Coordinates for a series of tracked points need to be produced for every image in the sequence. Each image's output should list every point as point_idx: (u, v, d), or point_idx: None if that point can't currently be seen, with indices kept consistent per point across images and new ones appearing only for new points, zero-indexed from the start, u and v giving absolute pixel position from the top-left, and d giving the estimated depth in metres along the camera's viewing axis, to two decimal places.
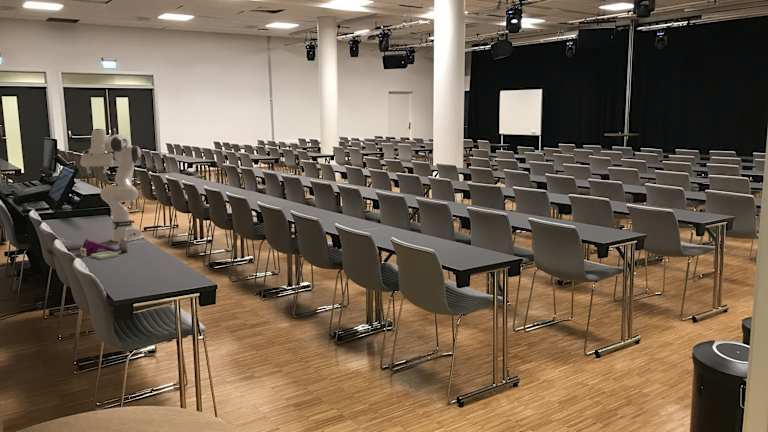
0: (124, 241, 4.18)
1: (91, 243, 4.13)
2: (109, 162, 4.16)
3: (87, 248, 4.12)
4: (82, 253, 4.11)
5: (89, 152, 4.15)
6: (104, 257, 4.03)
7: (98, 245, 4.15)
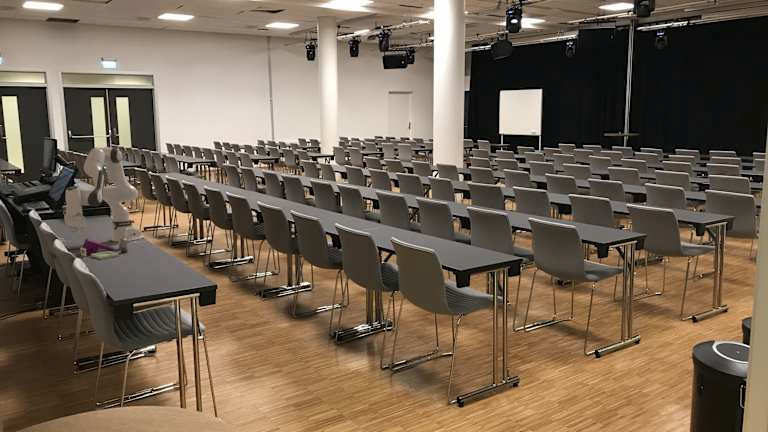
0: (124, 241, 4.18)
1: (91, 243, 4.13)
2: (79, 225, 3.98)
3: (87, 248, 4.12)
4: (82, 253, 4.11)
5: (66, 213, 4.03)
6: (104, 257, 4.03)
7: (98, 245, 4.16)
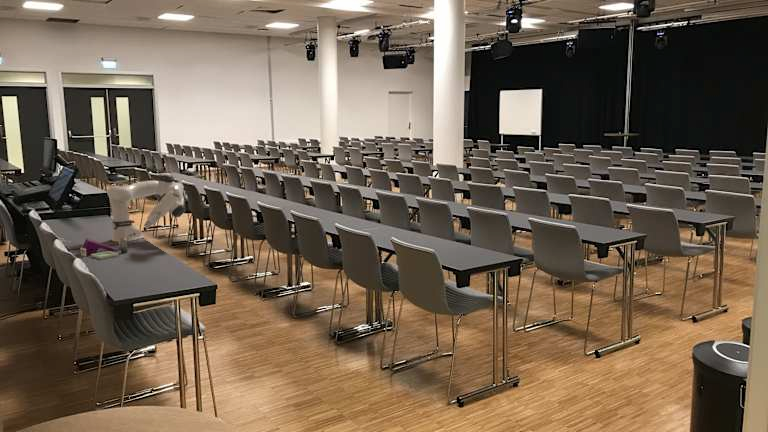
0: (124, 241, 4.18)
1: (91, 243, 4.13)
2: (151, 219, 4.16)
3: (87, 248, 4.13)
4: (82, 253, 4.11)
5: None
6: (104, 257, 4.03)
7: (98, 245, 4.16)
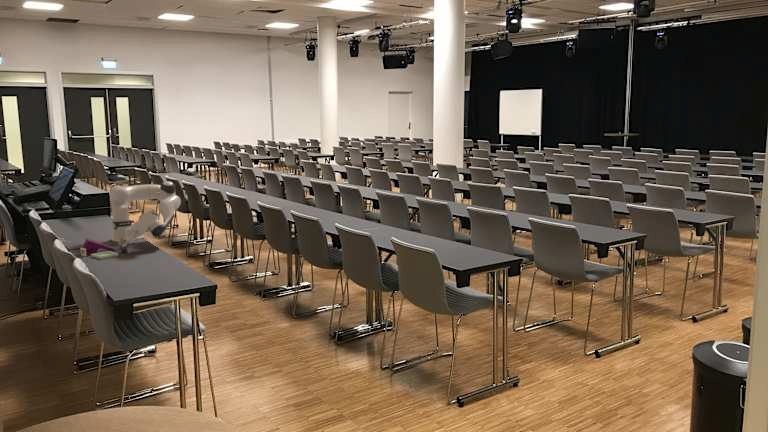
0: (124, 241, 4.18)
1: (91, 243, 4.14)
2: (128, 238, 4.12)
3: (87, 248, 4.13)
4: (82, 253, 4.11)
5: None
6: (104, 257, 4.03)
7: (98, 245, 4.16)
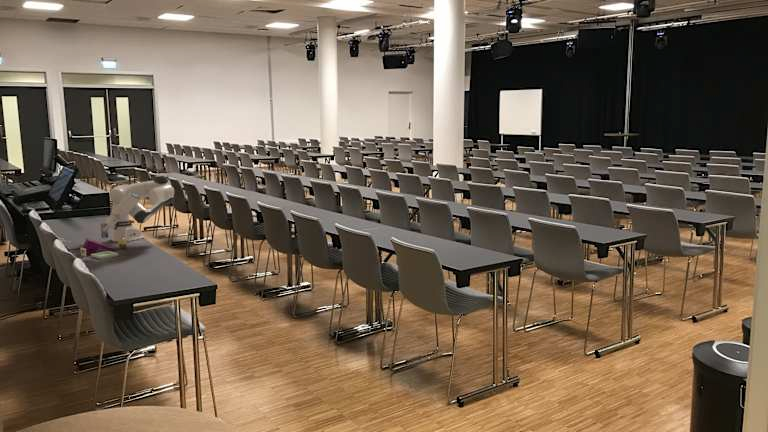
0: (104, 225, 4.04)
1: (91, 243, 4.14)
2: (108, 222, 3.99)
3: (87, 248, 4.13)
4: (82, 253, 4.11)
5: None
6: (104, 257, 4.03)
7: (98, 245, 4.16)
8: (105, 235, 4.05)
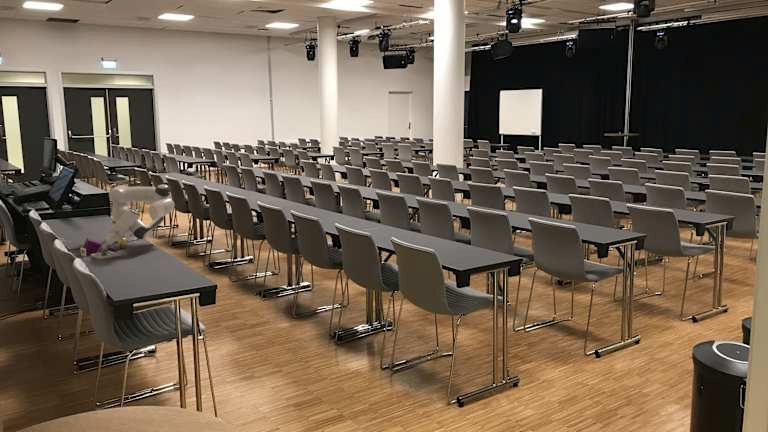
0: None
1: (91, 243, 4.14)
2: (108, 239, 4.00)
3: (87, 248, 4.13)
4: (82, 253, 4.11)
5: None
6: (104, 257, 4.03)
7: (98, 245, 4.16)
8: (105, 253, 4.07)
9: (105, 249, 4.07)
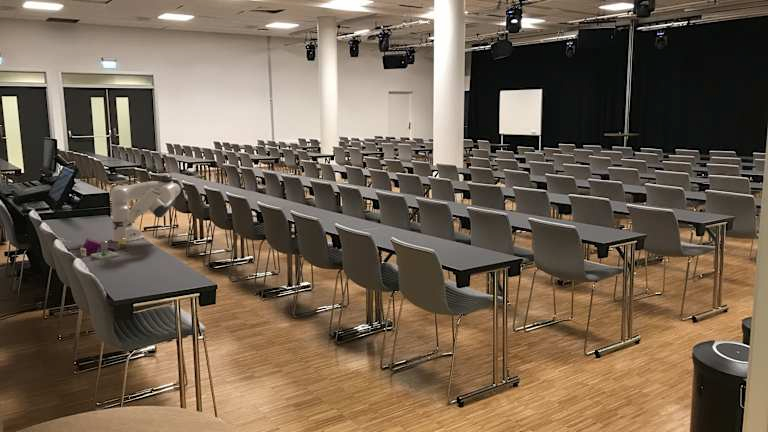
0: (104, 244, 4.06)
1: (91, 243, 4.14)
2: (129, 217, 4.03)
3: (87, 248, 4.13)
4: (82, 253, 4.11)
5: None
6: (104, 257, 4.03)
7: (98, 245, 4.16)
8: (105, 253, 4.07)
9: (105, 249, 4.07)
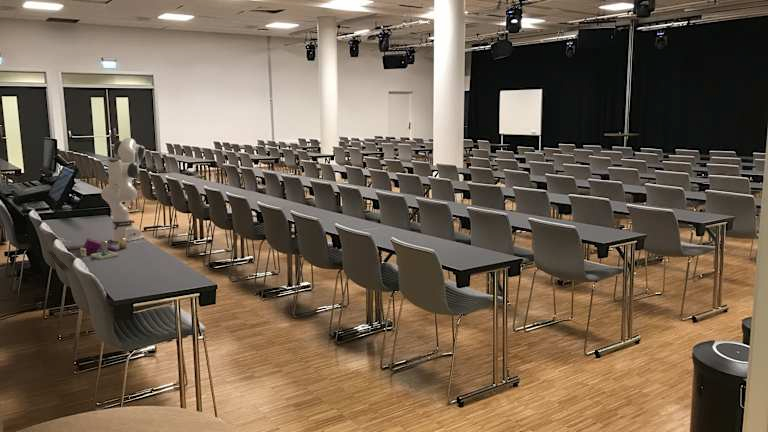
0: (104, 244, 4.06)
1: (91, 242, 4.15)
2: (113, 196, 4.12)
3: (87, 247, 4.14)
4: (82, 253, 4.11)
5: None
6: (104, 257, 4.03)
7: (98, 245, 4.17)
8: (105, 253, 4.07)
9: (105, 249, 4.07)
